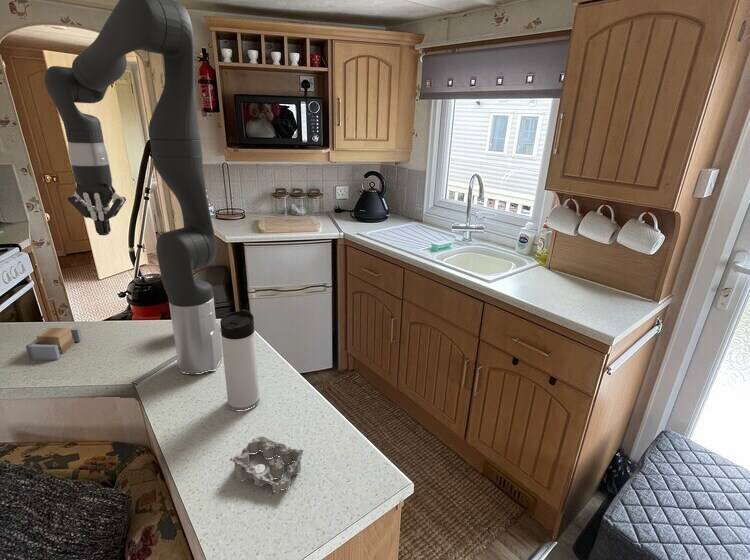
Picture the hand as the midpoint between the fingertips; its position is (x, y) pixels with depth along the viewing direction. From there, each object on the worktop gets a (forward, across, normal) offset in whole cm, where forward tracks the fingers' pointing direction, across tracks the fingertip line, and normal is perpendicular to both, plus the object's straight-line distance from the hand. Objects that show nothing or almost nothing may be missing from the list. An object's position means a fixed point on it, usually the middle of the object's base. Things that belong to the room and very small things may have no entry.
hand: (104, 234), depth 104 cm
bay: (+27, +10, +10) cm, 31 cm away
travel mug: (+27, -40, +30) cm, 57 cm away
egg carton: (+28, -49, +48) cm, 74 cm away
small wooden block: (+27, +10, +10) cm, 31 cm away
